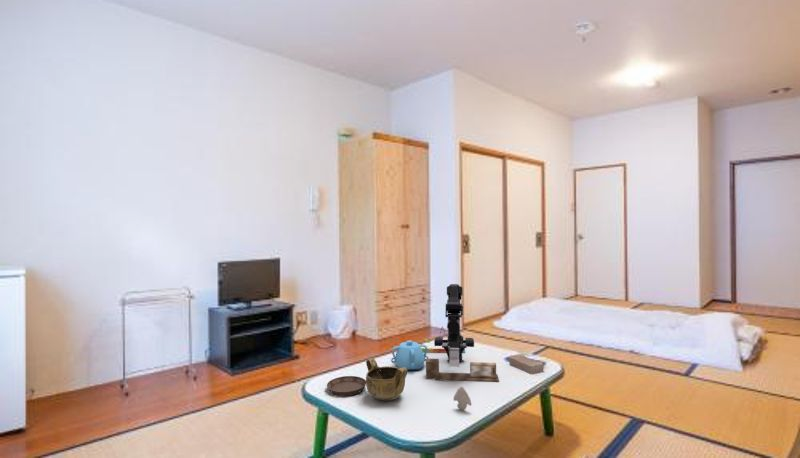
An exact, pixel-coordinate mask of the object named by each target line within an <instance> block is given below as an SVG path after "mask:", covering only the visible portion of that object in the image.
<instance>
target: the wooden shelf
mask: <svg viewBox="0 0 800 458" xmlns="http://www.w3.org/2000/svg"><path fill="white" fill-rule="evenodd" d="M425 359H426V361H425V379H428V380H429V379H432V380H434V381H452V382H453V381H455V382H456V381H458V382H481V383H482V382H484V383H485V382H486V383H488V382H489V383H490V382H491V383H499V382H500V379H499V375H498V373H496V378H492V377H470V372H469V373H468V372H444V371H443V372H442V371H441V372H440V359H439V358H429V357H428V358H427V357H426V358H425Z"/></svg>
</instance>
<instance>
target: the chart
mask: <svg viewBox="0 0 800 458" xmlns="http://www.w3.org/2000/svg"><path fill="white" fill-rule="evenodd" d="M440 329H441V330H440V331H439V335H438V337H441V334H442V330H443V332H444V335H445V337H446V339H448V334H447V333H446V331H445V329H444V327H443V326H441V328H440ZM435 338H436V337H435V336H432V337H431V338H430V339H429V340H428V339H427V338H424V339H423V340H422V342H421V344H420V345H422V344H423V345H424V342H427V343H431V342H432V340H433V339H434V340H435ZM421 349H422V351H423V354H424V353H425V347H423V348H422V347H421ZM427 349H428V350H427V354H447V353H446V351H445V349H444V348H427ZM462 354H466V349H465V350H463V352H462Z"/></svg>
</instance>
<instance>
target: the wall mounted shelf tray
mask: <svg viewBox="0 0 800 458" xmlns="http://www.w3.org/2000/svg"><path fill="white" fill-rule="evenodd" d="M469 373H470V377H492V378H496V374H497V363H496V362H483V361H482V362H478V361H475V362H473V361H471V362H469Z"/></svg>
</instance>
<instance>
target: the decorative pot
mask: <svg viewBox="0 0 800 458" xmlns="http://www.w3.org/2000/svg"><path fill="white" fill-rule="evenodd" d="M422 347H423V348H424V349H425V353H423V351H422V349H421V348H422ZM428 349H429V348H428V346H427V345H425V344H424V343H423V344H422V345H421V344H419V343H418V342H416V341H414V340H406V341H404V342H401V343H400V344H399V345H396V346H395V345H394V346H393V347H392V348H391V353H392V356H393V357H392V358H391V359H390V362H391V363H392V364H396V365H397V367H398V368H403V367H405V368H406V369H407V370H417V371H419V370H420V369H421V368H422V367H423V366H424V364H425V363H426V359H427V358H428V359H429V356H428V355H427V354H428V353H427V350H428ZM395 350H396V353H395Z"/></svg>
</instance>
